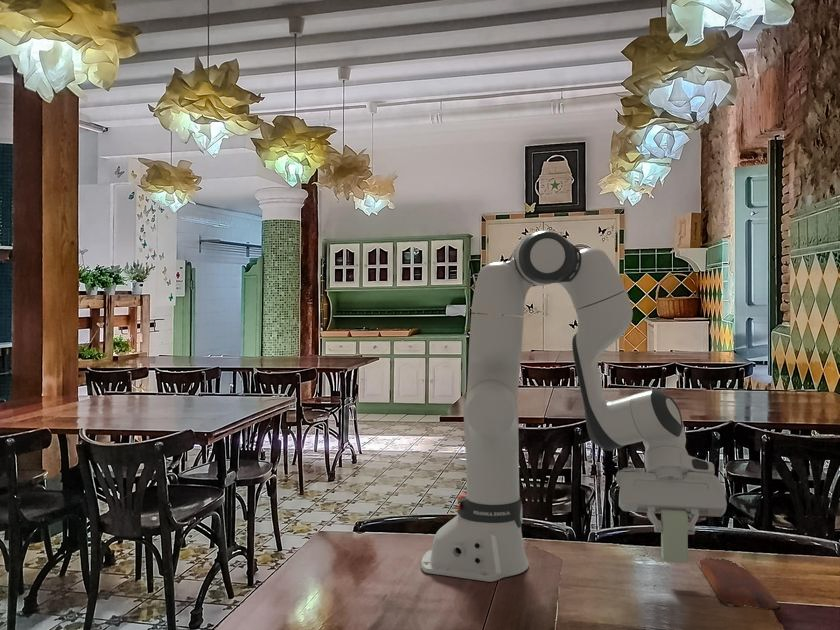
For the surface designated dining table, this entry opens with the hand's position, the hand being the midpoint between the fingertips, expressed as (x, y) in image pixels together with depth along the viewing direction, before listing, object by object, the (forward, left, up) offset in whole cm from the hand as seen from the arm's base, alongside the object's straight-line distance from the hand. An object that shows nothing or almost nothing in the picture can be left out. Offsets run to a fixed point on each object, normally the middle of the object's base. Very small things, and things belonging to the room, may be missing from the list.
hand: (674, 532), depth 133 cm
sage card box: (0, +1, -5) cm, 5 cm away
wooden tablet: (+11, +4, -11) cm, 16 cm away
